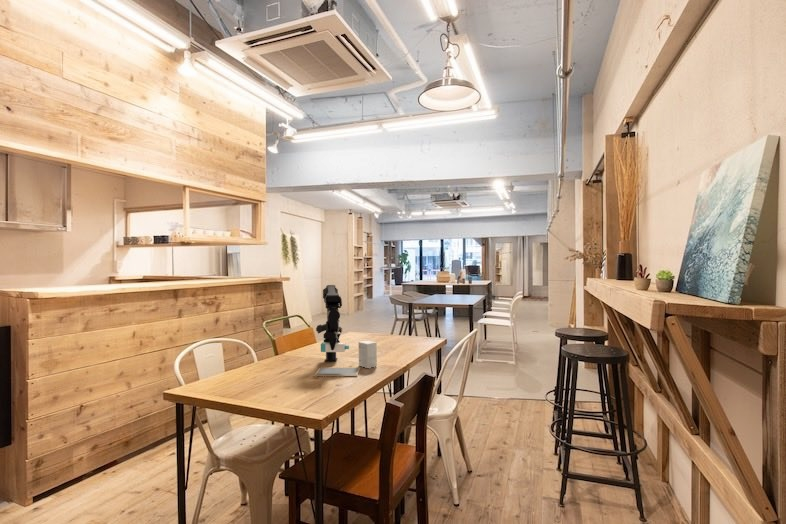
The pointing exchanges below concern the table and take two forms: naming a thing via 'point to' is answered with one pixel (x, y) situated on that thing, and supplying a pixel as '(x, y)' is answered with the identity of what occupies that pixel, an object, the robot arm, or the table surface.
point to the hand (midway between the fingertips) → (333, 349)
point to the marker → (338, 347)
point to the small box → (367, 354)
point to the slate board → (337, 371)
